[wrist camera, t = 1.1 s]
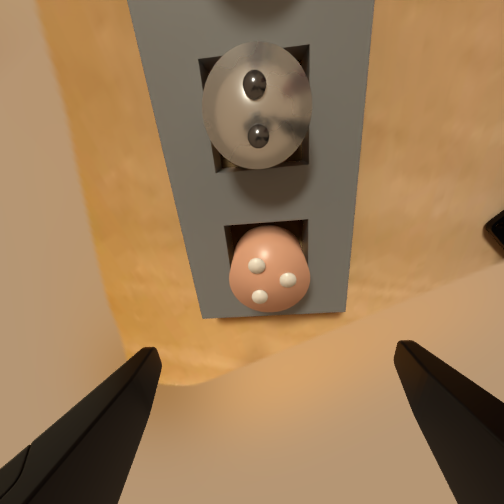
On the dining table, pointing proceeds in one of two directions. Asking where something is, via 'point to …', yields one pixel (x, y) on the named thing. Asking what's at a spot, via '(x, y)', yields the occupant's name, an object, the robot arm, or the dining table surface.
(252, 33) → the grey flat block
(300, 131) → the button two
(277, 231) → the button three
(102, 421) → the robot arm
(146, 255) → the dining table surface
